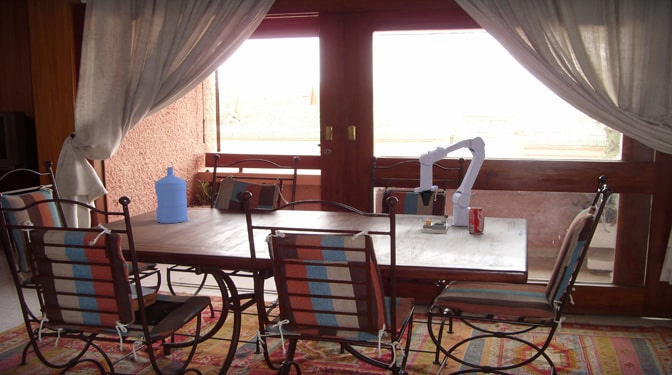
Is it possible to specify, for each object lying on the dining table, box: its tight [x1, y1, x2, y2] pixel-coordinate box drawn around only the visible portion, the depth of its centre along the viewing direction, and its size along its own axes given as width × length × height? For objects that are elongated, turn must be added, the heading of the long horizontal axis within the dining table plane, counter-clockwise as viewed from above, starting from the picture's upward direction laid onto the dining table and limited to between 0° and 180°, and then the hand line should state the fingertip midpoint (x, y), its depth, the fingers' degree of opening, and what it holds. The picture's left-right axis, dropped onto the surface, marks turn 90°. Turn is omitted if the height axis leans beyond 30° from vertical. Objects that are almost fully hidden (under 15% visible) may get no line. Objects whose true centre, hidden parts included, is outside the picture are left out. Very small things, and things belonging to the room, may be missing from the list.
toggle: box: [442, 213, 449, 222], centre depth 299 cm, size 2×2×5 cm
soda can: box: [467, 205, 485, 235], centre depth 286 cm, size 7×7×12 cm
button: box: [435, 221, 444, 226], centre depth 291 cm, size 4×4×2 cm
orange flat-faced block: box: [425, 219, 432, 226], centre depth 293 cm, size 2×3×3 cm
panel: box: [421, 219, 449, 234], centre depth 296 cm, size 11×17×4 cm, turn 166°
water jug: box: [154, 166, 189, 224], centre depth 322 cm, size 16×16×28 cm
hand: (426, 205), depth 305 cm, fingers closed
